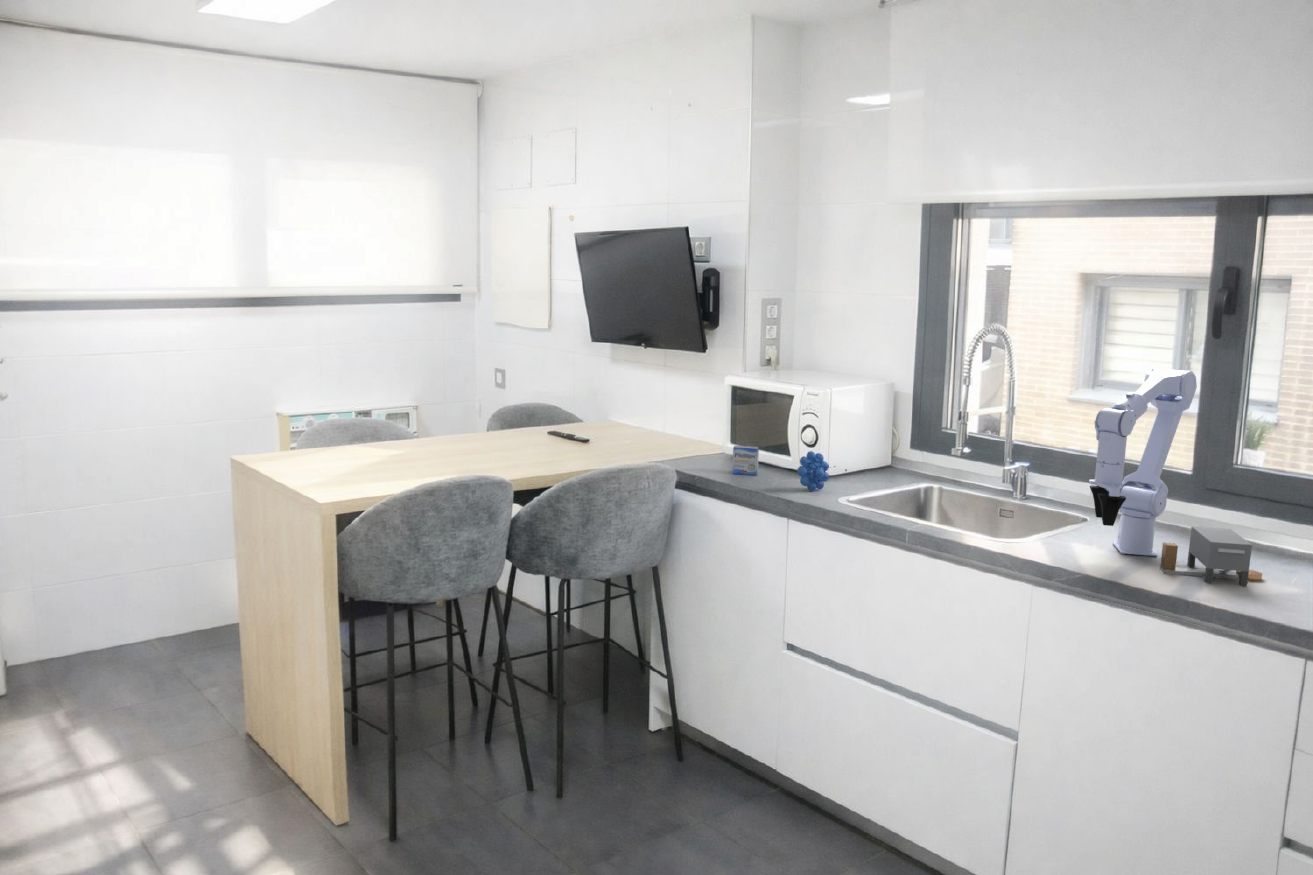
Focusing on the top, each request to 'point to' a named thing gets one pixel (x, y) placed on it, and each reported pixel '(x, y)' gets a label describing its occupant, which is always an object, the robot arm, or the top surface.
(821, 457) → the grapes
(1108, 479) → the robot arm
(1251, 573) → the copper token
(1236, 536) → the low cabinet
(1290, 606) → the top surface
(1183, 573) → the scraper
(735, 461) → the medicine box
